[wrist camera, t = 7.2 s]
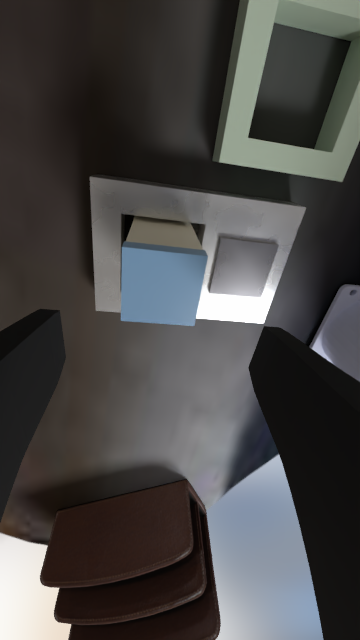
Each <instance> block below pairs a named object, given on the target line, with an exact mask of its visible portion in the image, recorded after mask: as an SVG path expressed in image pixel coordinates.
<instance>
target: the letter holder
mask: <svg viewBox="0 0 360 640" xmlns="http://www.w3.org/2000/svg"><path fill="white" fill-rule="evenodd" d="M206 514H207V513H206V509H205V506H204V505H203V503H202V502H201V500H200V499H199V497H198V495H197V494H196V492H195V491H194V489H193V488H192V486H191V485H190V483H189V482H188V480H187V479H185V480H182V481H177V482H173V483H169V484H165V485H160V486H156V487H152V488H148V489H144V490H140V491H135V492H131V493H127V494H123V495H119V496H115V497H111V498H107V499H103V500H98V501H95V502H90V503H86V504H82V505H78V506H74V507H69V508H65V509H61V510H58V511H57V513H56V515H55V521H54V525H53V528H52V532H51V536H50V540H49V544H48V547H47V551H46V555H45V559H44V563H43V567H42V570H41V575H40V581H41V583H42V584H43V585H44V586H48V587H57V588H59V592H58V596H57V601H56V605H55V610H54V617H55V619H56V621H58V622H61V623H68V624H71V629H70V634H69V639H68V640H215V639H216V638H217V637H218V635H219V631H220V624H221V623H220V612H219V605H218V598H217V591H216V584H215V577H214V570H213V563H212V554H211V546H210V539H209V530H208V522H207V515H206Z"/></svg>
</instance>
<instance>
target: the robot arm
mask: <svg viewBox="0 0 360 640" xmlns="http://www.w3.org/2000/svg"><path fill="white" fill-rule="evenodd" d="M352 290H353V291H352ZM351 291H352V292H351ZM350 292H351V293H350ZM65 358H66V355H65V348H64V340H63V332H62V325H61V317H60V310H47V309H39V310H37V311H35V312H33V313H31V314H30V315H28V316H26V317H24V318H23V319H21V320H19V321H17V322H16V323H14V324H12V325H11V326H9V327H7V328H5V329H4V330H2V331H0V522H1V519H2V516H3V513H4V510H5V507H6V504H7V501H8V498H9V495H10V492H11V490H12V487H13V484H14V481H15V478H16V476H17V473H18V470H19V467H20V465H21V462H22V459H23V457H24V455H25V452H26V450H27V448H28V445H29V443H30V441H31V439H32V437H33V435H34V433H35V431H36V428H37V426H38V424H39V422H40V420H41V418H42V416H43V414H44V412H45V410H46V407H47V405H48V403H49V401H50V399H51V397H52V395H53V392H54V390H55V388H56V386H57V384H58V381H59V378H60V375H61V372H62V368H63V365H64V362H65ZM249 371H250V376H251V380H252V384H253V388H254V392H255V394H256V397H257V399H258V402H259V405H260V407H261V410H262V412H263V415H264V417H265V420H266V422H267V424H268V427H269V429H270V432H271V434H272V437H273V439H274V442H275V444H276V447H277V449H278V452H279V455H280V458H281V460H282V463H283V466H284V470H285V474H286V477H287V480H288V483H289V487H290V490H291V494H292V498H293V501H294V505H295V509H296V513H297V517H298V520H299V524H300V528H301V533H302V536H303V541H304V545H305V550H306V554H307V558H308V562H309V567H310V571H311V576H312V581H313V586H314V591H315V596H316V601H317V606H318V611H319V616H320V621H321V627H322V633H323V638H324V640H360V285H351V284H345V285H343V286H341V287H340V289H339V290H338V292H337V294H336V296H335V298H334V300H333V302H332V304H331V306H330V308H329V309H328V311H327V313H326V315H325V317H324V319H323V321H322V323H321V325H320V327H319V329H318V331H317V333H316V335H315V337H314V339H313V341H312V343H311V344H310V346H309V347H308V346H307V345H305V344H304V343H303V342H301V341H300V340H298V339H297V338H295V337H294V336H293V335H291V334H290V333H288V332H286V331H285V330H283V329H281V328H279V327H266V326H264V328H263V330H262V333H261V336H260V338H259V341H258V344H257V346H256V349H255V352H254V354H253V357H252V360H251V362H250V365H249Z"/></svg>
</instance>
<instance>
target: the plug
mask: <svg viewBox="0 0 360 640" xmlns="http://www.w3.org/2000/svg"><path fill="white" fill-rule="evenodd" d="M207 259H208V255H207V253H206V251H205V250H203V248H202V246H201V244H200V242H199V240H198V238H197V236H196V234H195V231H194V229H193V227H192V225H191V223H190V222H183V221H175V220H167V219H159V218H151V217H143V216H135V217H134V220H133V223H132V225H131V228H130V231H129V234H128V236H127V239H126V241H124V243H123V245H122V277H121V321H131V322H145V323H159V324H173V325H187V326H194V325H195V320H196V315H197V310H198V305H199V300H200V295H201V289H202V284H203V279H204V274H205V269H206V264H207Z"/></svg>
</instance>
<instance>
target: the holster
mask: <svg viewBox="0 0 360 640" xmlns="http://www.w3.org/2000/svg"><path fill="white" fill-rule="evenodd" d="M274 23H278V24H282V25H286V26H290V27H294V28H298V29H302V30H306V31H311V32H315V33H319V34H323V35H327V36H331V37H335V38H339V39H344V40H348V41H351V44H350V47H349V50H348V52H347V55H346V58H345V61H344V64H343V67H342V70H341V73H340V76H339V78H338V81H337V84H336V87H335V90H334V93H333V96H332V99H331V102H330V104H329V107H328V110H327V113H326V116H325V119H324V122H323V125H322V128H321V130H320V133H319V136H318V139H317V142H316V145H315V148H314V149H308V148H303V147H297V146H291V145H286V144H280V143H274V142H269V141H263V140H257V139H252V138H248V135H249V130H250V126H251V121H252V117H253V112H254V108H255V104H256V99H257V95H258V90H259V86H260V82H261V77H262V73H263V68H264V64H265V59H266V55H267V51H268V46H269V42H270V37H271V33H272V28H273V24H274ZM359 141H360V0H240V3H239V8H238V14H237V20H236V26H235V32H234V37H233V43H232V49H231V55H230V61H229V66H228V72H227V78H226V84H225V90H224V95H223V101H222V107H221V113H220V119H219V124H218V130H217V136H216V142H215V148H214V154H213V159H212V161H215V162H221V163H227V164H233V165H239V166H246V167H252V168H258V169H264V170H271V171H277V172H283V173H289V174H296V175H302V176H308V177H314V178H321V179H327V180H333V181H339V182H342V181H343V179H344V177H345V174H346V172H347V170H348V167H349V165H350V162H351V160H352V158H353V155H354V153H355V150H356V148H357V146H358V143H359Z"/></svg>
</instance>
